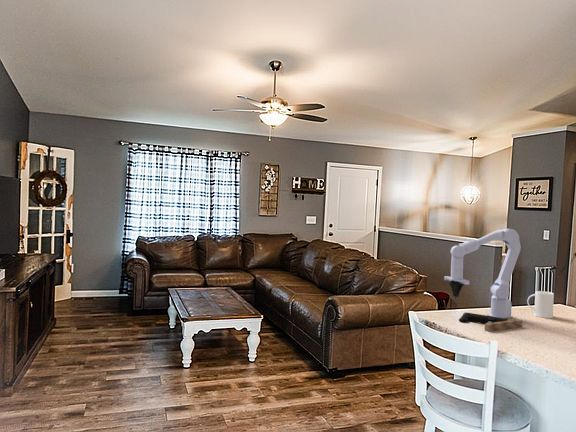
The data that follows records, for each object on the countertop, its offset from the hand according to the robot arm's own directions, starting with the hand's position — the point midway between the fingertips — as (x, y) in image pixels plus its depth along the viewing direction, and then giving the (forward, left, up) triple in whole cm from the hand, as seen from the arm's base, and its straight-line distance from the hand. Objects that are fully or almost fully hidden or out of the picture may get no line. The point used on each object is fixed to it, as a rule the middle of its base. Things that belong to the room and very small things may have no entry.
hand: (455, 296), depth 223 cm
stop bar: (0, +28, -9) cm, 29 cm away
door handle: (+2, +18, -10) cm, 21 cm away
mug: (-40, +18, -9) cm, 45 cm away
